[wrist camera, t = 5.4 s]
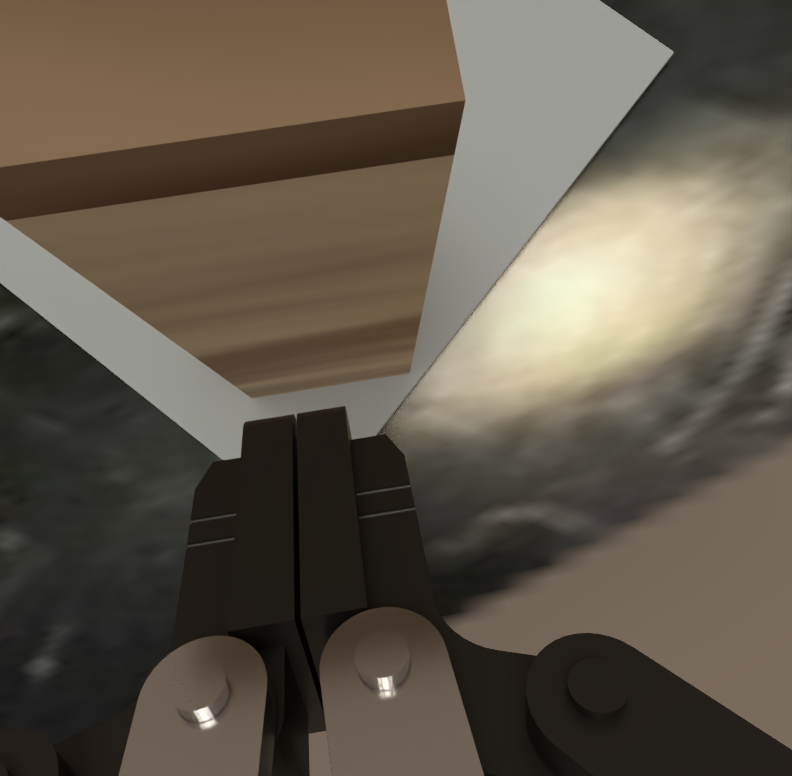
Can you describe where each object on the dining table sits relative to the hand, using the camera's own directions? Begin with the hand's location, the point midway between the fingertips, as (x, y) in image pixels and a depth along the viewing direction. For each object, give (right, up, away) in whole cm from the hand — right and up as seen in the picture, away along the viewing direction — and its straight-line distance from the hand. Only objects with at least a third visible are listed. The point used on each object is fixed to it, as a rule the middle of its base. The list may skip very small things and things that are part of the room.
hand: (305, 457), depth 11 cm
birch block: (-1, +3, +9) cm, 10 cm away
